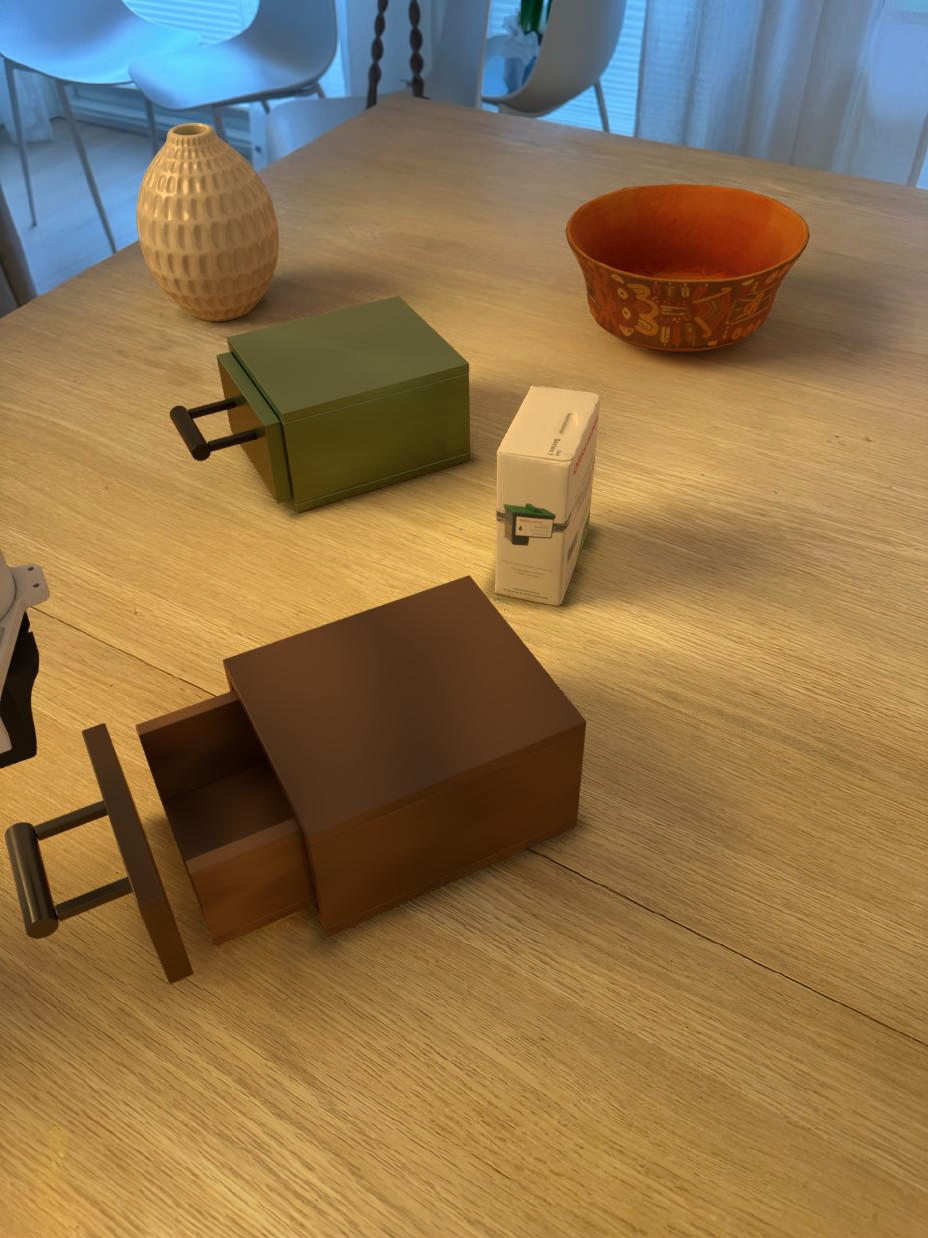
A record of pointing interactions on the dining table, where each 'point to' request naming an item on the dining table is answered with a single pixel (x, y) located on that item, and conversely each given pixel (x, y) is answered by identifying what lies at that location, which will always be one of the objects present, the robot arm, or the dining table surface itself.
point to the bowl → (684, 262)
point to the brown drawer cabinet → (412, 746)
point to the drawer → (241, 427)
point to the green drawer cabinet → (360, 398)
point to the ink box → (544, 493)
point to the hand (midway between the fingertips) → (12, 753)
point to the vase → (207, 225)
